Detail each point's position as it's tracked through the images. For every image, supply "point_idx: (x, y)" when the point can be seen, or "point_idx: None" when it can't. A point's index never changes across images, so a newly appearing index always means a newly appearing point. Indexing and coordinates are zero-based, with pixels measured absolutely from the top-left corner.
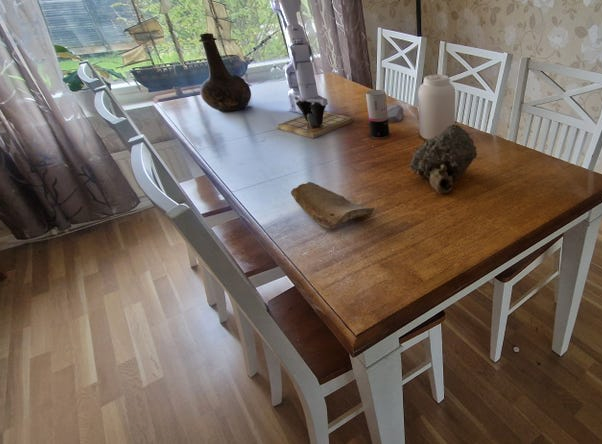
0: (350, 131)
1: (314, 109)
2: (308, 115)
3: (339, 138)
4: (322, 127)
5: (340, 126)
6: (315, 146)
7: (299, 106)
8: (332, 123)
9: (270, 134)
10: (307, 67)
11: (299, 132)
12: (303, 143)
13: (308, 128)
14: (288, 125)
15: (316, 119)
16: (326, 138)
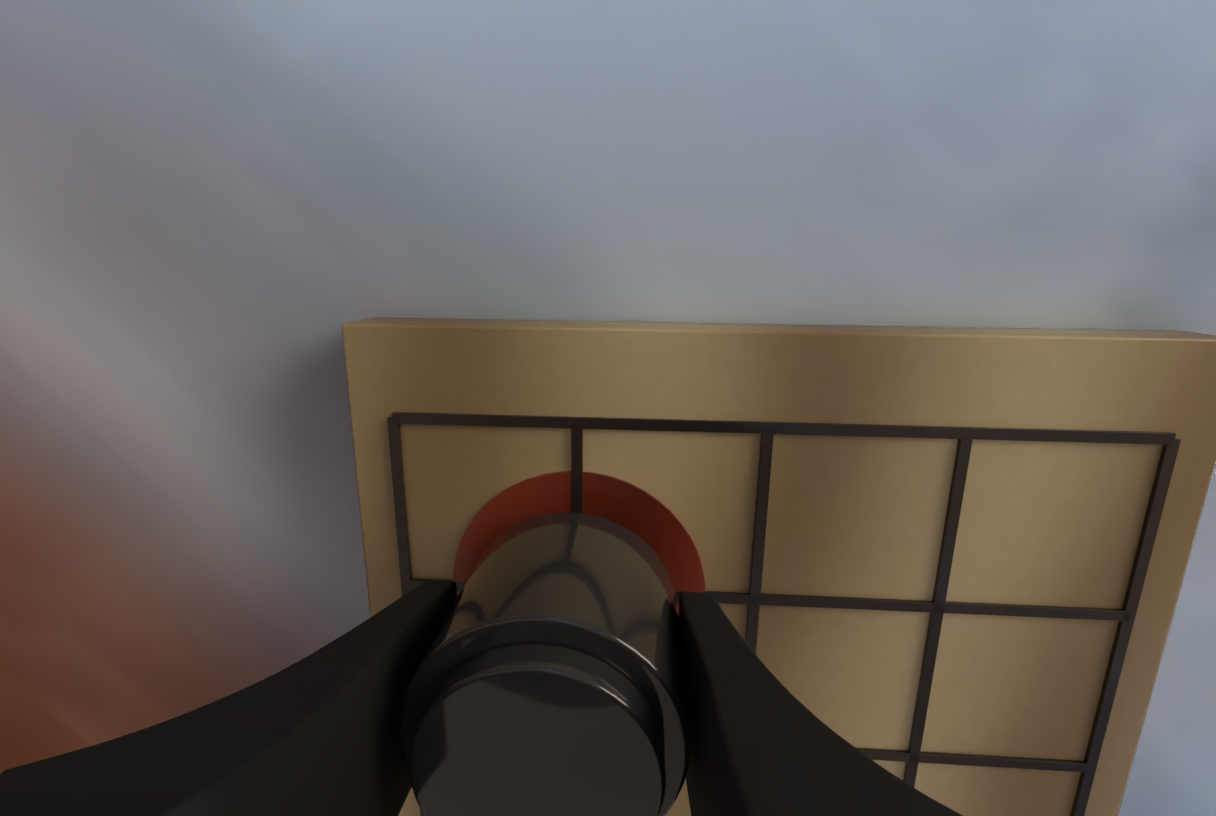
0: None
1: (98, 758)
2: (548, 635)
3: (106, 491)
4: None
5: None
6: (101, 100)
7: (841, 795)
8: None
9: (1123, 65)
10: None
11: (659, 325)
12: (333, 85)
13: (594, 472)
14: (1014, 414)
15: (384, 618)
16: (233, 408)
